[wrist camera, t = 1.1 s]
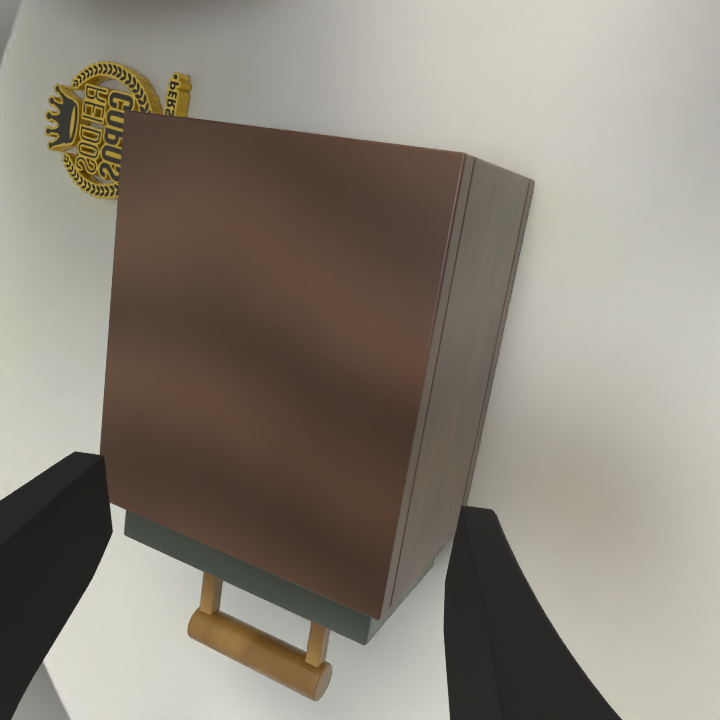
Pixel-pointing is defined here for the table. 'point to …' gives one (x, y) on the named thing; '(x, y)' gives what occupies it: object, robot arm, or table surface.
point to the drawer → (246, 641)
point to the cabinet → (304, 344)
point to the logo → (105, 121)
